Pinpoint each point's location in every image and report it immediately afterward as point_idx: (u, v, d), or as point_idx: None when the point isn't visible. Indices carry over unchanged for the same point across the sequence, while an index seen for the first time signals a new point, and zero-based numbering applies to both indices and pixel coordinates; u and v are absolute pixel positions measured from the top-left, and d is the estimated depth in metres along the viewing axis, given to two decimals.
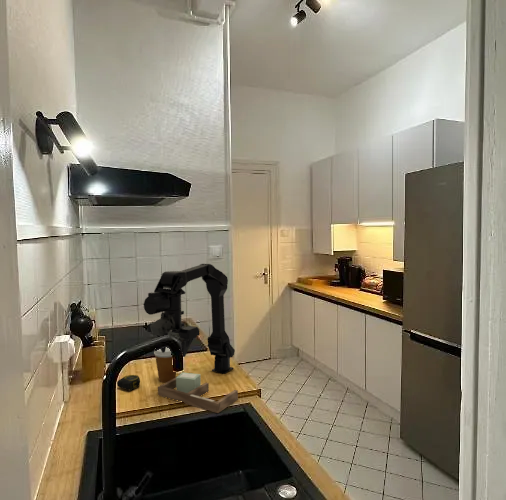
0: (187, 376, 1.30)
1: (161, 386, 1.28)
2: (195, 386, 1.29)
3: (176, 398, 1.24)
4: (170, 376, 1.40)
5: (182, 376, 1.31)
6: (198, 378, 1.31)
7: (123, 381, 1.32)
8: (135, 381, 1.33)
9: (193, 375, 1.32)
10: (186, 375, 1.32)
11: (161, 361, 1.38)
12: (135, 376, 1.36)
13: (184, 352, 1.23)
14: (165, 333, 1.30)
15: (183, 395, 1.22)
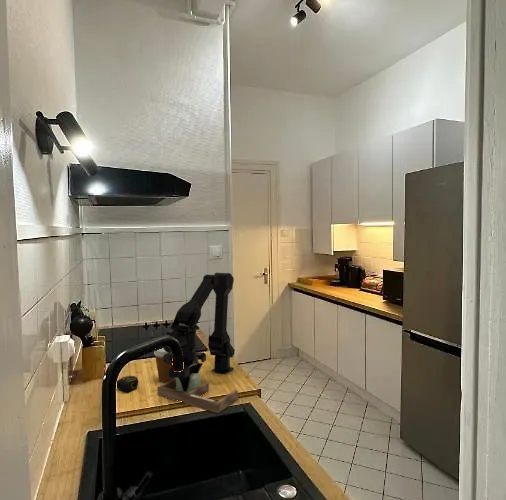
0: None
1: (161, 386, 1.28)
2: (195, 386, 1.29)
3: (176, 398, 1.24)
4: (170, 377, 1.40)
5: None
6: (198, 378, 1.31)
7: (121, 382, 1.32)
8: (133, 382, 1.32)
9: (193, 375, 1.32)
10: None
11: (161, 361, 1.38)
12: (133, 377, 1.35)
13: (183, 387, 1.29)
14: (196, 368, 1.34)
15: (183, 395, 1.22)
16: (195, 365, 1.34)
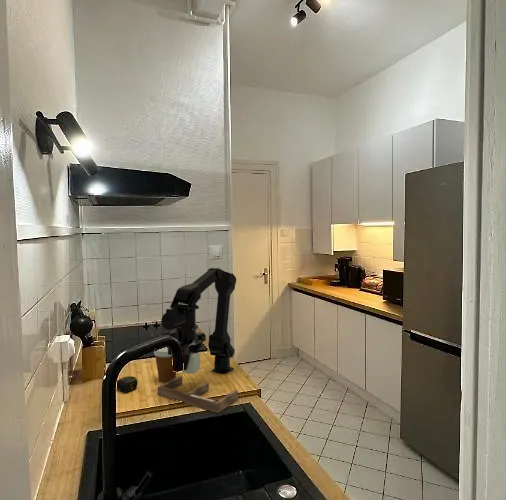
0: None
1: (161, 386, 1.28)
2: (195, 365, 1.29)
3: (176, 398, 1.24)
4: (170, 377, 1.40)
5: None
6: (198, 357, 1.31)
7: (120, 383, 1.31)
8: (132, 382, 1.32)
9: (193, 354, 1.31)
10: None
11: (161, 361, 1.38)
12: (132, 377, 1.35)
13: None
14: (195, 347, 1.34)
15: (183, 395, 1.22)
16: (195, 345, 1.34)
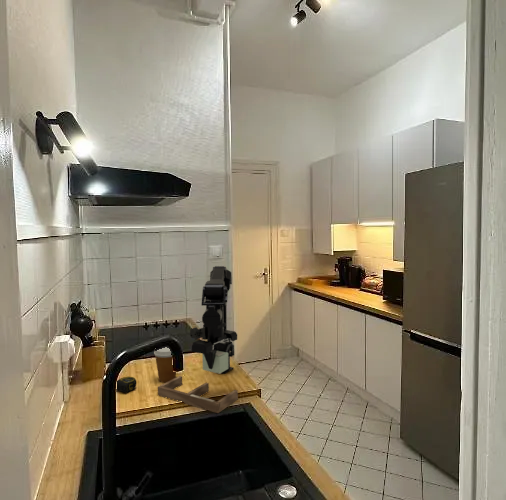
0: None
1: (161, 386, 1.28)
2: (220, 364, 1.22)
3: (176, 398, 1.24)
4: (170, 376, 1.40)
5: None
6: (225, 356, 1.24)
7: (119, 383, 1.31)
8: (131, 383, 1.31)
9: (220, 353, 1.25)
10: None
11: (161, 361, 1.38)
12: (131, 378, 1.34)
13: (209, 364, 1.22)
14: (224, 346, 1.27)
15: (183, 395, 1.22)
16: (224, 343, 1.27)
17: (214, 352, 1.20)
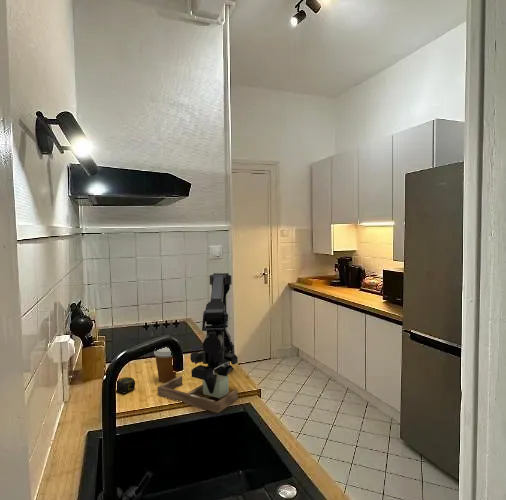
0: None
1: (161, 386, 1.28)
2: (221, 389, 1.22)
3: (176, 398, 1.24)
4: (170, 376, 1.40)
5: None
6: (225, 381, 1.24)
7: (118, 384, 1.30)
8: (130, 384, 1.31)
9: (220, 377, 1.25)
10: None
11: (161, 361, 1.38)
12: (130, 378, 1.34)
13: (209, 389, 1.23)
14: (224, 370, 1.27)
15: (183, 395, 1.22)
16: (224, 367, 1.28)
17: (214, 377, 1.20)
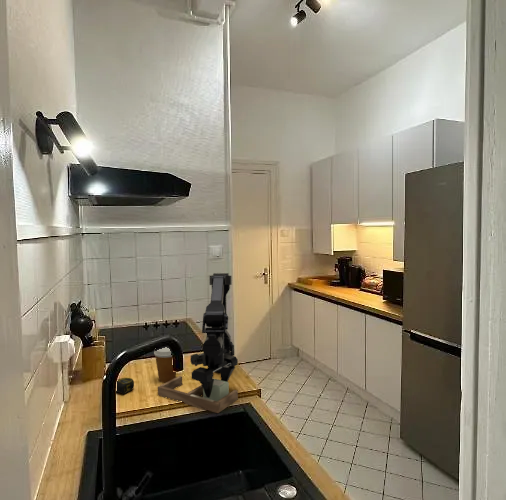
0: (214, 383, 1.24)
1: (161, 386, 1.28)
2: (221, 394, 1.22)
3: (176, 398, 1.24)
4: (170, 376, 1.40)
5: None
6: (225, 386, 1.24)
7: None
8: (129, 384, 1.30)
9: (220, 382, 1.25)
10: (214, 382, 1.26)
11: (161, 361, 1.38)
12: (129, 379, 1.33)
13: (206, 393, 1.21)
14: (227, 370, 1.29)
15: (183, 395, 1.22)
16: (227, 367, 1.29)
17: (211, 381, 1.19)
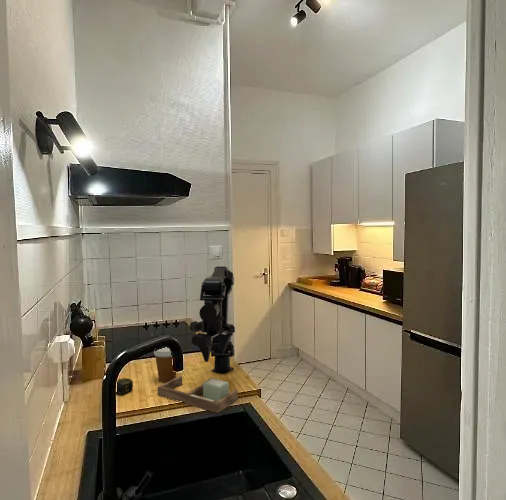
0: (214, 383, 1.24)
1: (161, 386, 1.28)
2: (221, 394, 1.22)
3: (176, 398, 1.24)
4: (170, 376, 1.40)
5: (209, 382, 1.25)
6: (225, 386, 1.24)
7: None
8: (127, 385, 1.30)
9: (220, 382, 1.25)
10: (213, 382, 1.26)
11: (161, 361, 1.38)
12: (128, 379, 1.33)
13: (204, 358, 1.28)
14: (225, 337, 1.35)
15: (183, 395, 1.22)
16: (225, 334, 1.36)
17: (209, 346, 1.25)
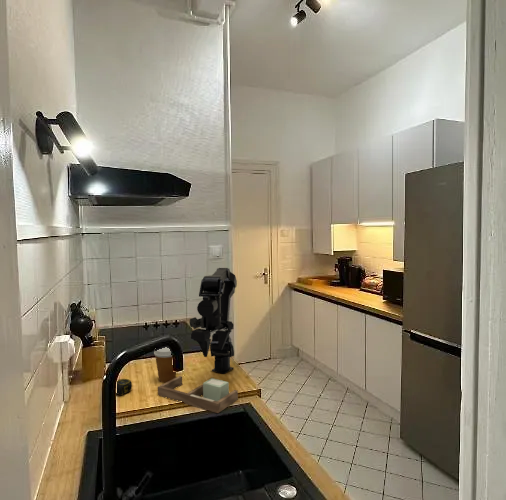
0: (214, 383, 1.24)
1: (161, 386, 1.28)
2: (221, 394, 1.22)
3: (176, 398, 1.24)
4: (170, 376, 1.40)
5: (209, 382, 1.25)
6: (225, 386, 1.24)
7: None
8: (126, 385, 1.29)
9: (220, 382, 1.25)
10: (214, 382, 1.26)
11: (161, 361, 1.38)
12: (127, 380, 1.32)
13: (203, 353, 1.31)
14: (224, 333, 1.39)
15: (183, 395, 1.22)
16: (224, 331, 1.39)
17: (208, 341, 1.28)
